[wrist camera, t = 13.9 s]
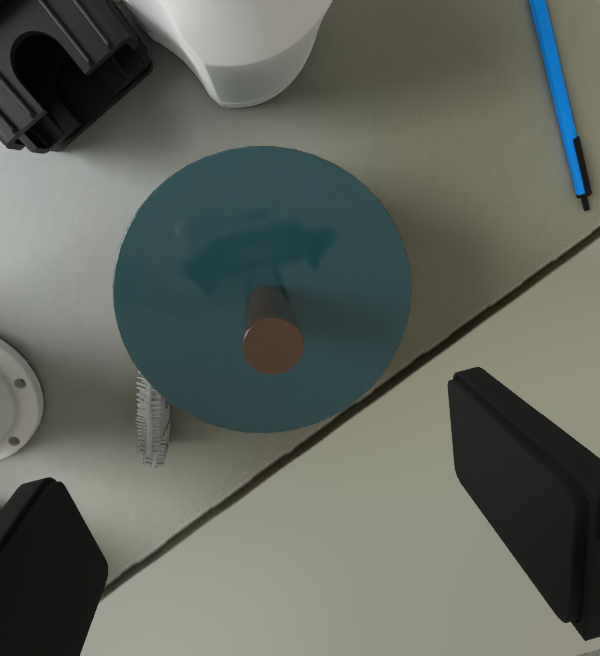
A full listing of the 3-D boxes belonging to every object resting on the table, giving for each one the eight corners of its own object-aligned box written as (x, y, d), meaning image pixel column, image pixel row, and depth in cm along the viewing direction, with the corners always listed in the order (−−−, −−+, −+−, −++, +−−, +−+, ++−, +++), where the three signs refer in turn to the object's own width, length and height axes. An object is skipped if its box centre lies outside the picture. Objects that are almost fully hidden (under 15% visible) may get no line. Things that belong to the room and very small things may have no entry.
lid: (175, 448, 25) (149, 535, 19) (69, 187, 19) (-18, 188, 13) (417, 388, 26) (469, 453, 19) (385, 116, 20) (445, 85, 14)
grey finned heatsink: (171, 445, 35) (156, 493, 30) (150, 443, 35) (131, 492, 29) (178, 320, 31) (162, 349, 26) (155, 318, 31) (134, 346, 26)
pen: (577, 212, 32) (588, 213, 31) (511, -55, 25) (522, -65, 24) (587, 206, 32) (598, 207, 31) (524, -63, 25) (535, -73, 24)
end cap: (78, -54, 23) (12, -145, 17) (163, 63, 25) (133, 22, 19) (-41, 58, 24) (-146, 13, 18) (50, 160, 27) (-13, 152, 20)
